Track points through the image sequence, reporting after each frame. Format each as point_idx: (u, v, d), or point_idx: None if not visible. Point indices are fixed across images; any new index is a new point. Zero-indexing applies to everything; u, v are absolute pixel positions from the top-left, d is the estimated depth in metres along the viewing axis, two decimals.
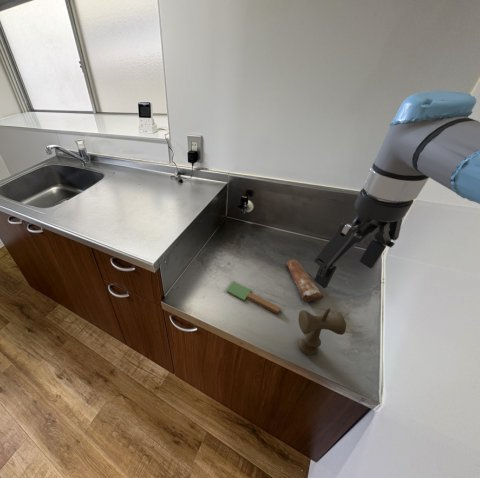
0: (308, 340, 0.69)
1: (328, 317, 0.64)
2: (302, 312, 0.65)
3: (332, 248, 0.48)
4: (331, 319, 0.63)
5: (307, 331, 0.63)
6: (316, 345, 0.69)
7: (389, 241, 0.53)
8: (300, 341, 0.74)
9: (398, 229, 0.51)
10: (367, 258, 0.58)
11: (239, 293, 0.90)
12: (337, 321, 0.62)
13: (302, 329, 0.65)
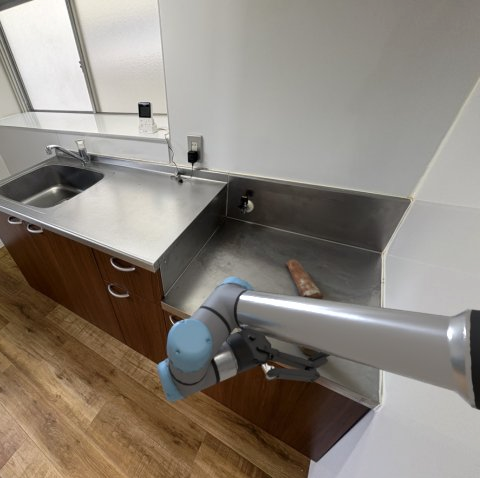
0: None
1: None
2: None
3: (295, 377, 0.49)
4: None
5: None
6: None
7: None
8: None
9: None
10: None
11: None
12: None
13: None
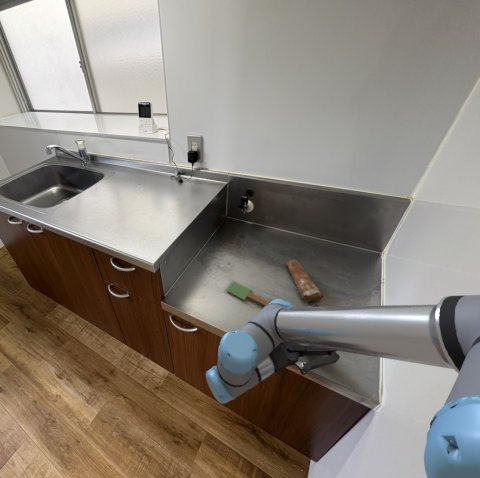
0: None
1: None
2: None
3: (322, 364, 0.59)
4: None
5: None
6: None
7: None
8: None
9: None
10: None
11: (239, 293, 0.90)
12: None
13: None
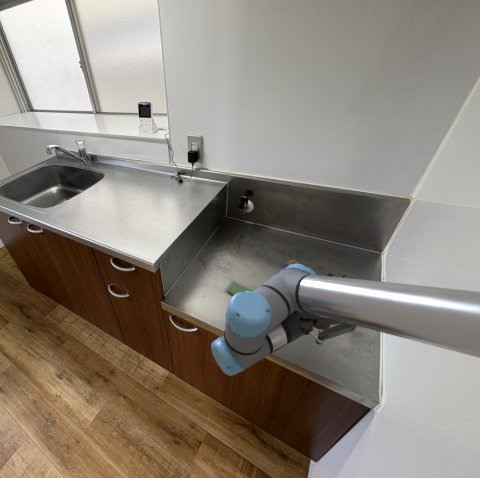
0: None
1: None
2: None
3: (340, 332, 0.54)
4: None
5: None
6: None
7: None
8: None
9: None
10: None
11: None
12: None
13: None
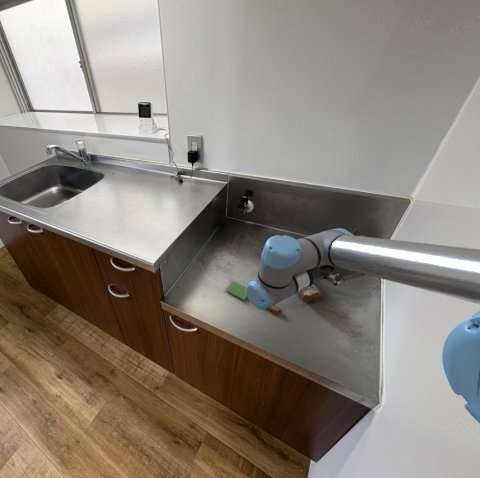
0: None
1: None
2: None
3: (353, 276, 0.64)
4: None
5: None
6: None
7: None
8: None
9: None
10: None
11: (239, 293, 0.90)
12: None
13: None
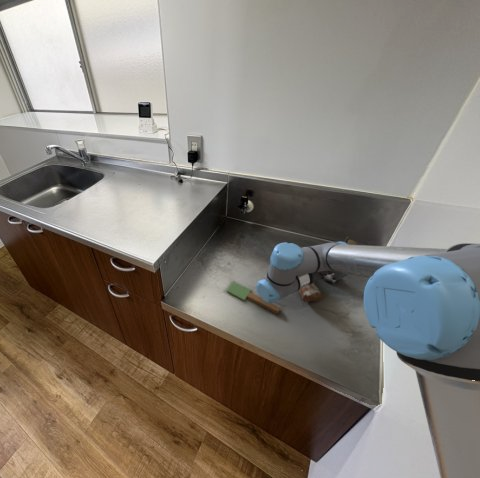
0: None
1: None
2: None
3: (345, 274, 0.78)
4: None
5: None
6: None
7: None
8: None
9: None
10: None
11: (239, 293, 0.90)
12: None
13: None
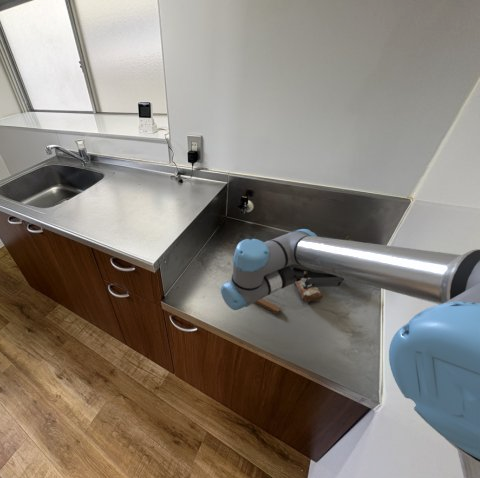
0: None
1: None
2: None
3: (326, 283, 0.65)
4: None
5: None
6: None
7: None
8: None
9: None
10: None
11: None
12: None
13: None
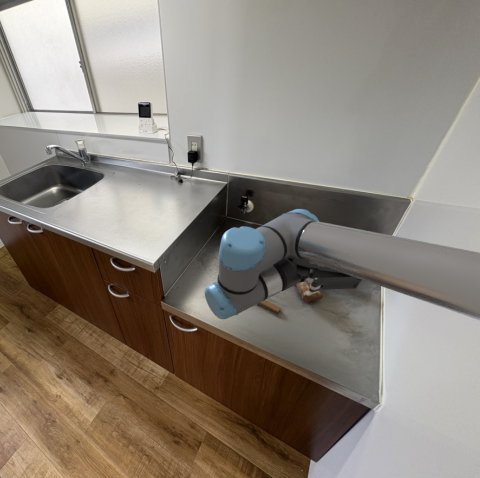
0: None
1: None
2: None
3: (338, 285, 0.51)
4: None
5: None
6: None
7: None
8: None
9: None
10: None
11: None
12: None
13: None
